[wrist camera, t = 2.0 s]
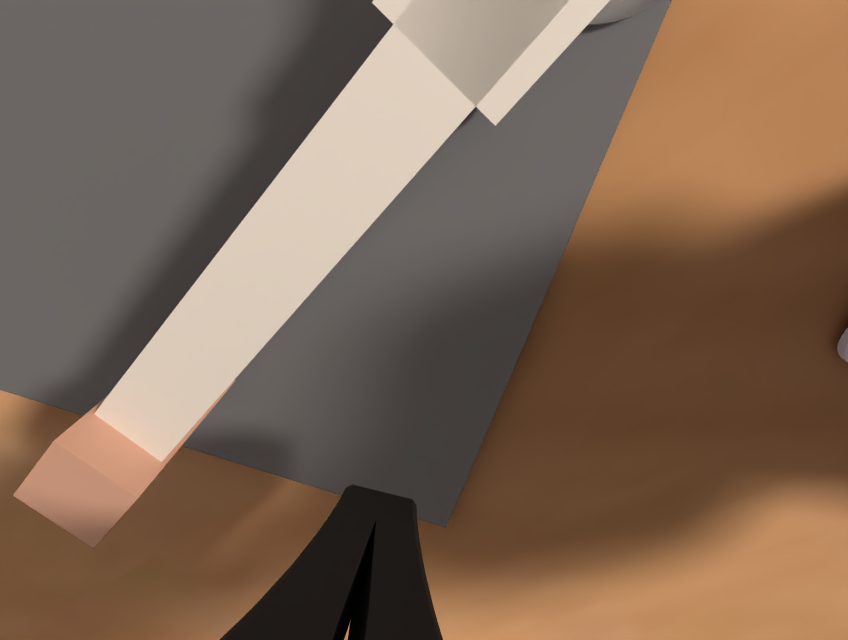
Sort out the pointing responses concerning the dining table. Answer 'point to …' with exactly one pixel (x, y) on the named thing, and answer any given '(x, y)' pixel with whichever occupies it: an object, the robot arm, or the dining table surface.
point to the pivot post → (620, 10)
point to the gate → (300, 236)
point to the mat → (240, 190)
